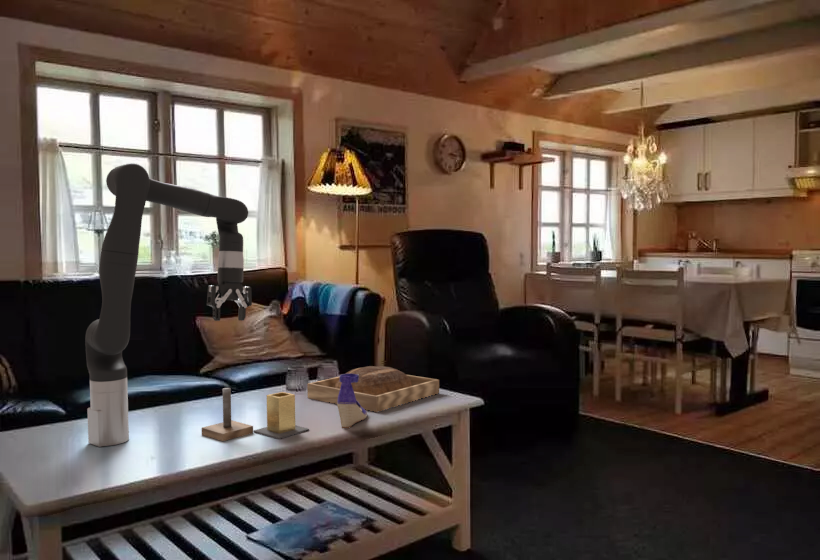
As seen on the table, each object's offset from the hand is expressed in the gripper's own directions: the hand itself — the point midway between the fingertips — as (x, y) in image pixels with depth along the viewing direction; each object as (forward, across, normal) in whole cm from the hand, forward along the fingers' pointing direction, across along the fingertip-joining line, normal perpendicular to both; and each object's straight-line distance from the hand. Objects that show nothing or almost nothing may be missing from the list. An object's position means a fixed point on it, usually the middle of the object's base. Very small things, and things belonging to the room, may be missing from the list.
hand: (229, 320), depth 202 cm
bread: (+27, +54, -9) cm, 61 cm away
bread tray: (+27, +52, -11) cm, 60 cm away
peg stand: (+31, -7, -12) cm, 34 cm away
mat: (+31, +4, -21) cm, 38 cm away
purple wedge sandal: (+30, +25, -28) cm, 48 cm away
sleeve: (+30, +4, -21) cm, 37 cm away
